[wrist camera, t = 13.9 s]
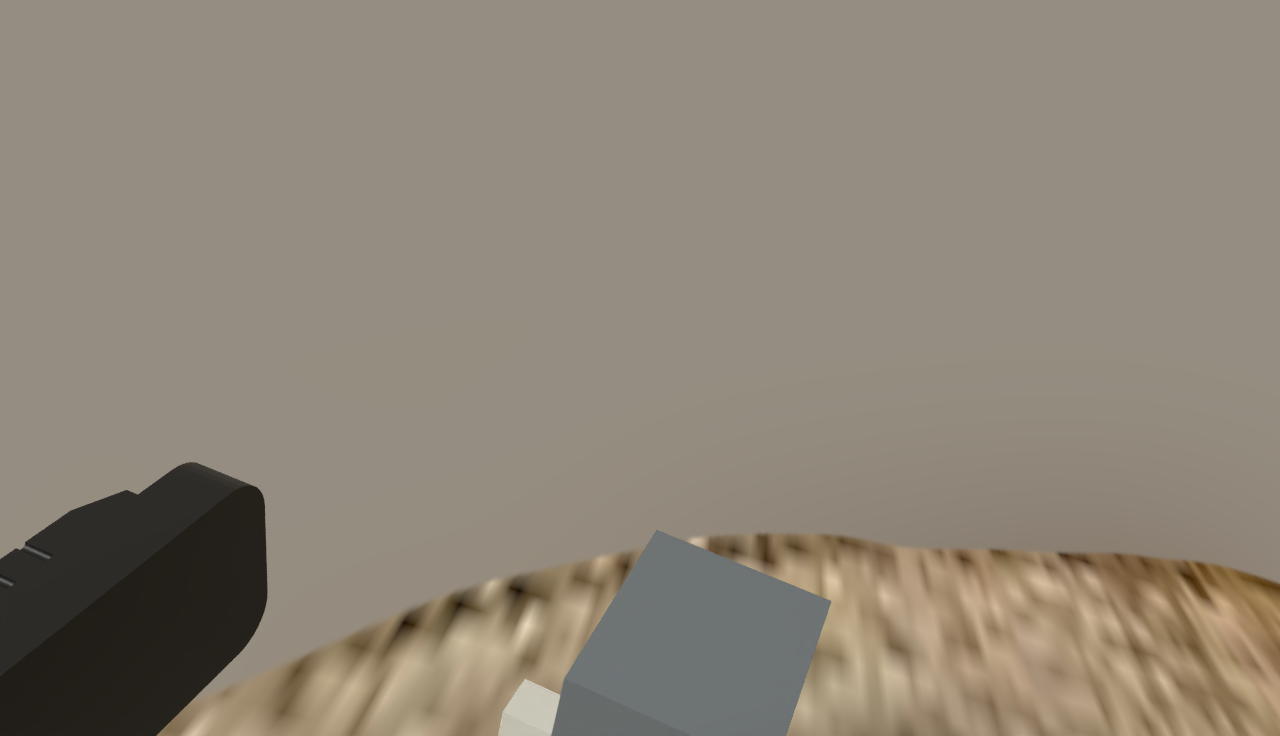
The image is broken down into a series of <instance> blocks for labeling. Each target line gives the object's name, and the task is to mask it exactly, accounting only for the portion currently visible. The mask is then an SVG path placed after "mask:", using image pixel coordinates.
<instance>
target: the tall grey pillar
mask: <svg viewBox="0 0 1280 736" xmlns="http://www.w3.org/2000/svg"><path fill="white" fill-rule="evenodd" d="M830 604H831V601H830V600H827V599H825V598H822V597H820V596H818V595H815V594H813V593H810V592H808V591H805V590H803V589H800V588H798V587H795V586H793V585H791V584H788V583H786V582H783V581H781V580H778V579H776V578H773V577H771V576H769V575H766V574H764V573H761V572H759V571H756V570H754V569H751V568H749V567H746V566H744V565H742V564H739V563H737V562H734V561H732V560H729V559H727V558H724V557H722V556H720V555H717V554H715V553H712V552H710V551H707V550H705V549H702V548H700V547H697V546H695V545H693V544H690V543H688V542H685V541H683V540H680V539H678V538H675V537H673V536H670V535H668V534H666V533H663V532H661V531H658V530H656V532H655V533H654V535H653V537H652V538H651V540H650V541H649V543H648V545H647V546H646V548H645V550H644V551H643V553H642V554H641V556H640V558H639V559H638V561H637V562H636V564H635V566H634V567H633V569H632V570H631V572H630V574H629V575H628V577H627V579H626V580H625V582H624V583H623V585H622V587H621V588H620V590H619V591H618V593H617V595H616V596H615V598H614V599H613V601H612V603H611V604H610V606H609V607H608V609H607V611H606V612H605V614H604V616H603V617H602V619H601V620H600V622H599V624H598V625H597V627H596V628H595V630H594V632H593V633H592V635H591V636H590V638H589V640H588V641H587V643H586V645H585V646H584V648H583V649H582V651H581V653H580V654H579V656H578V657H577V659H576V661H575V662H574V664H573V665H572V667H571V669H570V670H569V672H568V673H567V675H566V677H565V678H564V682H563V687H562V691H561V695H560V700H559V704H558V708H557V713H556V717H555V721H554V726H553V730H552V734H551V736H786V734H787V731H788V728H789V725H790V722H791V719H792V716H793V713H794V710H795V707H796V705H797V702H798V699H799V696H800V693H801V690H802V687H803V684H804V681H805V678H806V675H807V672H808V669H809V666H810V663H811V660H812V657H813V654H814V651H815V648H816V645H817V642H818V639H819V636H820V633H821V630H822V628H823V625H824V622H825V619H826V616H827V613H828V610H829V607H830Z"/></svg>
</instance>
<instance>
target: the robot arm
mask: <svg viewBox="0 0 1280 736" xmlns="http://www.w3.org/2000/svg"><path fill="white" fill-rule="evenodd" d="M265 531H266V529H265V503H264V498H263V495H262V493H261V491H260V490H259V489H258V488H257V487H254V486H252V485H250V484H247V483H245V482H242V481H240V480H237V479H235V478H232V477H230V476H228V475H225V474H223V473H220V472H218V471H215V470H213V469H210V468H208V467H205V466H203V465H201V464H198V463H192V462H190V463H185V464H182V465H180V466H178V467H176V468H175V469H173V470H172V471H170V472H169V473H167V474H166V475H165V476H163V477H162V478H160V479H159V480H158V481H156V482H155V483H153V484H152V485H151V486H149V487H148V488H146V489H145V490H144V491H142V492H141V493H140V494H138V495H137V494H135V493H133V492H130V491H128V490H125V491H123V492H120V493H117V494H115V495H112V496H109V497H107V498H104V499H101V500H98V501H96V502H93V503H90V504H87V505H85V506H82V507H79V508H77V509H74V510H71V511H70V512H68V513H67V514H65V515H64V516H62V517H61V518H60V519H58V520H57V521H55V522H54V523H52V524H51V525H49V526H48V527H46V528H45V529H44V530H42V531H41V532H39V533H38V534H37V535H35V536H33V537H32V538H31V539H29V540H28V541H26V542H25V546H24V547H23V549H21V550H19V549H14V550H13V551H12V552H10V553H9V554H7V555H6V556H4V557H3V558H1V559H0V736H156V735H157V734H158V733H159V732H160V731H161V730H162V729H163V728H164V727H165V726H166V725H167V724H168V723H169V722H170V721H171V720H172V719H173V718H174V717H175V716H177V715H178V714H179V713H180V712H181V711H182V710H183V709H184V708H185V707H186V706H187V705H188V704H189V703H190V702H191V701H192V700H193V699H194V698H195V697H196V696H197V695H198V694H199V693H200V692H201V691H202V690H203V689H204V688H205V687H206V686H207V685H208V684H209V683H210V682H211V681H212V680H213V679H214V678H215V677H216V676H217V675H218V674H219V673H220V672H221V671H222V670H223V669H224V668H225V667H226V666H227V665H228V664H229V663H230V662H231V661H232V660H233V659H234V658H235V657H236V656H237V655H238V654H239V653H240V652H241V651H242V650H243V649H244V648H245V646H246V645H247V644H248V642H249V641H250V639H251V638H252V636H253V635H254V633H255V631H256V629H257V627H258V626H259V623H260V621H261V619H262V616H263V613H264V610H265V607H266V602H267V564H266V532H265Z"/></svg>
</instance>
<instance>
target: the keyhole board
mask: <svg viewBox="0 0 1280 736" xmlns="http://www.w3.org/2000/svg"><path fill="white" fill-rule="evenodd" d="M559 700H560V695H559V694H557V693H555V692H552V691H550V690H548V689H546V688H544V687H541V686H539V685H537V684H535V683H533V682H530V681H528V680H526V679H525V680H524V681H523V683H522V684H521V685H520V687H519V688H518V690H517V691H516V693H515V694H514V696H513V697H512V699H511V700H510V702H509V703H508V705H507V706H506V708H505V709H504V711H503V713H502V719H501V724H500V729H499V734H498V736H551V734H552V730H553V726H554V721H555V717H556V713H557V708H558V704H559Z"/></svg>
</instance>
